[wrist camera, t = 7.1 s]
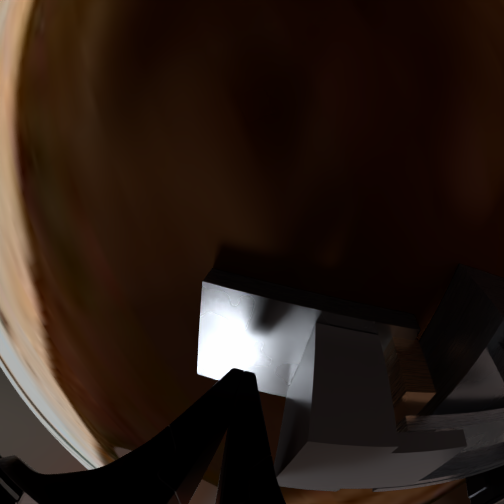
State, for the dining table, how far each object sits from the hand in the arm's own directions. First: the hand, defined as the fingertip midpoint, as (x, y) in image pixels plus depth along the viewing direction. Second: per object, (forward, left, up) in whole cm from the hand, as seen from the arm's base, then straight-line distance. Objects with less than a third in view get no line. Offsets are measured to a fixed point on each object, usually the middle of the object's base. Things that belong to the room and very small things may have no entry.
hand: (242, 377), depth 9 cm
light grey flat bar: (-12, 0, +1) cm, 12 cm away
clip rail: (-2, 0, -2) cm, 3 cm away
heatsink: (-13, 0, -2) cm, 13 cm away
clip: (-5, 0, -1) cm, 5 cm away
